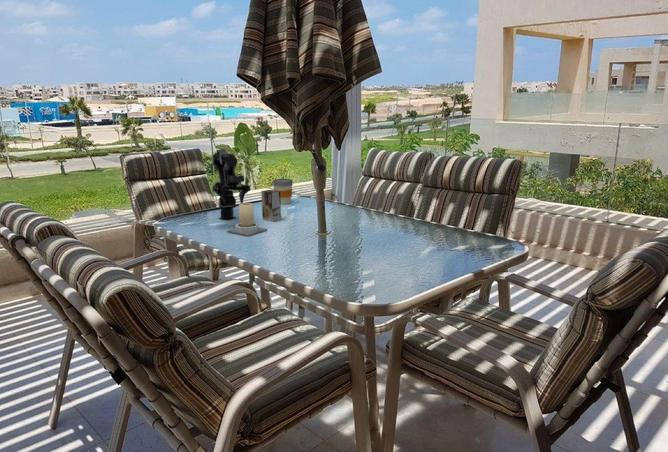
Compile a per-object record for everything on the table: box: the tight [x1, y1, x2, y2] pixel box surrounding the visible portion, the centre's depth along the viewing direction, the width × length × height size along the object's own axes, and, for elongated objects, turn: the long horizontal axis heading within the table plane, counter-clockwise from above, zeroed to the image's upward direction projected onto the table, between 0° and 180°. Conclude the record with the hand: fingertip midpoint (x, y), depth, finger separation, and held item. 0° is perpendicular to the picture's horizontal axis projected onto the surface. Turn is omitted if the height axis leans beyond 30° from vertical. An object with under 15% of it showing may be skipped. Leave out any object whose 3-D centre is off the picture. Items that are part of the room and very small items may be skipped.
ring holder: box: [226, 222, 268, 238], centre depth 251 cm, size 14×14×4 cm
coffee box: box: [261, 189, 282, 223], centre depth 275 cm, size 9×6×16 cm
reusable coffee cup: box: [272, 178, 293, 206], centre depth 318 cm, size 13×13×15 cm
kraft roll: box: [238, 202, 255, 227], centre depth 250 cm, size 7×7×13 cm
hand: (233, 203), depth 255 cm, fingers open, 9 cm apart
